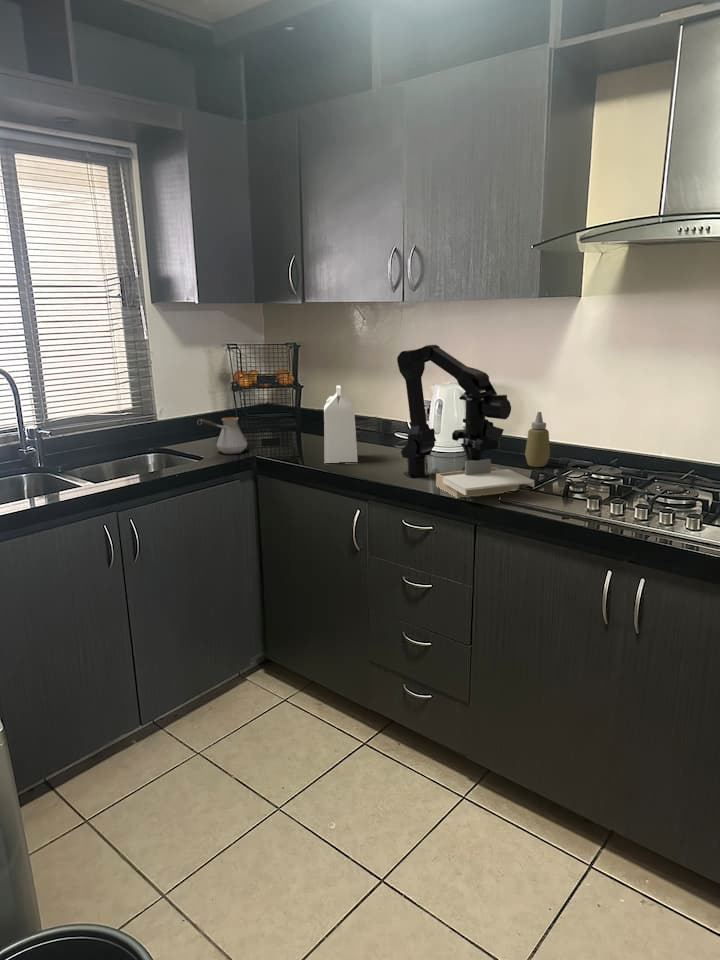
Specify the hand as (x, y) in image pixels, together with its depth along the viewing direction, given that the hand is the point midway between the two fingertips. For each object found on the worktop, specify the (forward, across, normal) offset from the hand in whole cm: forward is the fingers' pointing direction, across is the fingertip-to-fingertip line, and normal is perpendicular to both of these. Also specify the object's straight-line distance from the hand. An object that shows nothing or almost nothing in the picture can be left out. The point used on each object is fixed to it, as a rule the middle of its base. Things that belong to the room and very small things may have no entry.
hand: (474, 467), depth 204 cm
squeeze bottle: (+6, +16, -32) cm, 36 cm away
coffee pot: (+6, +77, +64) cm, 100 cm away
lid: (+3, -8, 0) cm, 9 cm away
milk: (+6, +51, +26) cm, 58 cm away
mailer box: (+6, -2, 0) cm, 6 cm away
